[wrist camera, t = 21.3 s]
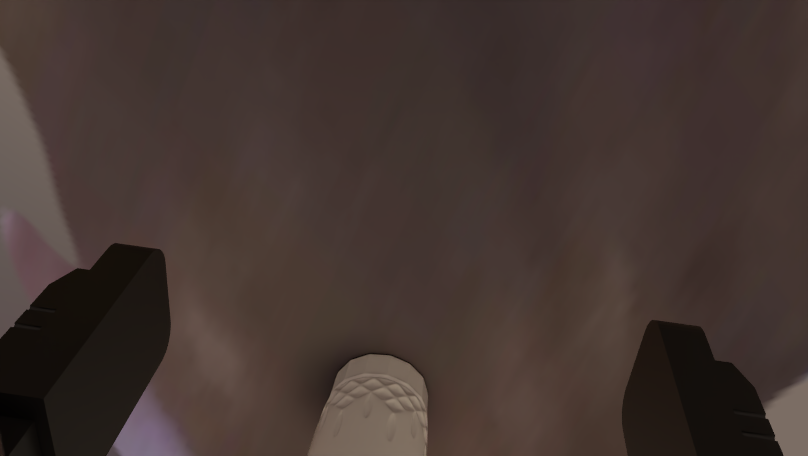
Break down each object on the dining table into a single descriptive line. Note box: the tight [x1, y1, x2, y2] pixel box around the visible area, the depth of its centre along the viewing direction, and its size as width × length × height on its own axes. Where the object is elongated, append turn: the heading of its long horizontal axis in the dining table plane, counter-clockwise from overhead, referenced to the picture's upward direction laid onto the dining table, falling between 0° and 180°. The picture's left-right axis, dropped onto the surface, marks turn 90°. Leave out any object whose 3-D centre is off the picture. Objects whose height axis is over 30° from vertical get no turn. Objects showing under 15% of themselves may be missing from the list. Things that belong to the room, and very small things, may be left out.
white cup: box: [307, 354, 428, 456], centre depth 50 cm, size 8×8×10 cm
